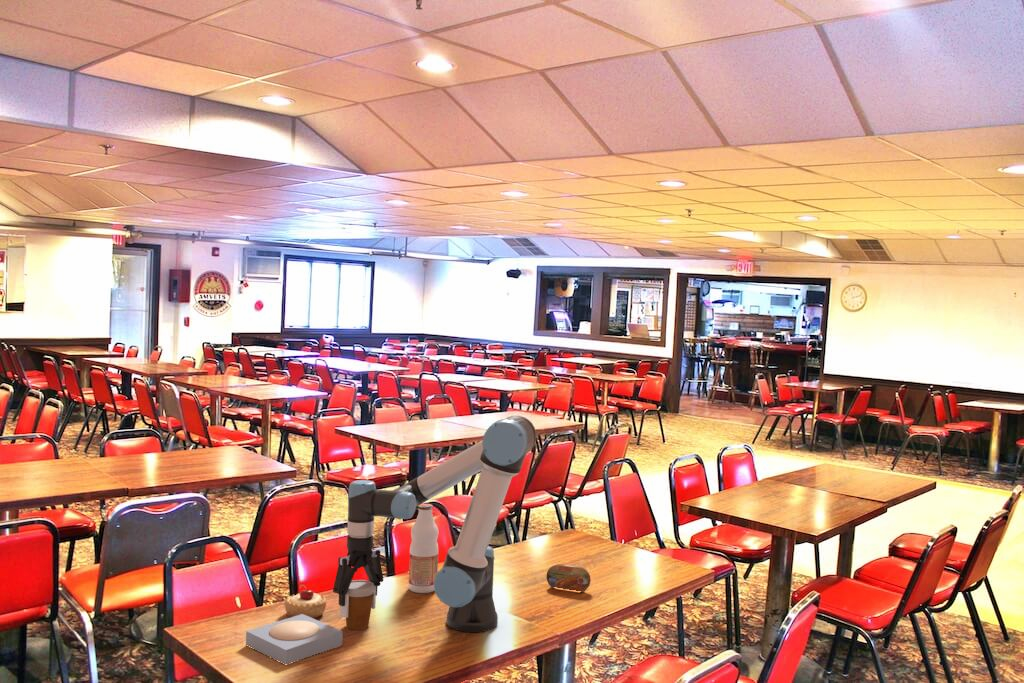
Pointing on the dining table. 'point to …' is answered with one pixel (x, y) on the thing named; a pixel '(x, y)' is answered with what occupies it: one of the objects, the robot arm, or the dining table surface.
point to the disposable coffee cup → (359, 604)
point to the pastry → (305, 604)
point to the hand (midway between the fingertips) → (357, 611)
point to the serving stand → (294, 638)
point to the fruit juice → (423, 551)
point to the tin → (568, 577)
